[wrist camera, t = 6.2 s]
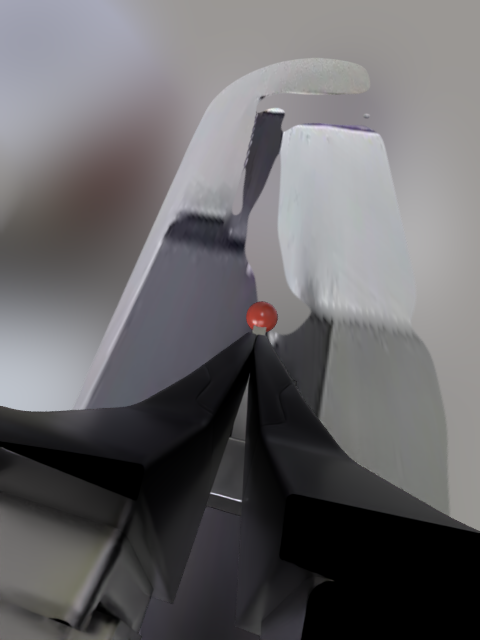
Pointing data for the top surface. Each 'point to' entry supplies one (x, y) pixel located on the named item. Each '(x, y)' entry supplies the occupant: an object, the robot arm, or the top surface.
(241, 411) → the lever
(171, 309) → the top surface
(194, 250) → the top surface
